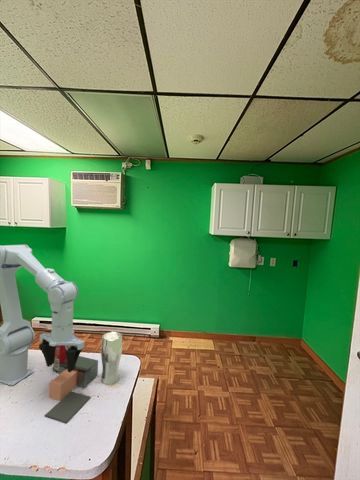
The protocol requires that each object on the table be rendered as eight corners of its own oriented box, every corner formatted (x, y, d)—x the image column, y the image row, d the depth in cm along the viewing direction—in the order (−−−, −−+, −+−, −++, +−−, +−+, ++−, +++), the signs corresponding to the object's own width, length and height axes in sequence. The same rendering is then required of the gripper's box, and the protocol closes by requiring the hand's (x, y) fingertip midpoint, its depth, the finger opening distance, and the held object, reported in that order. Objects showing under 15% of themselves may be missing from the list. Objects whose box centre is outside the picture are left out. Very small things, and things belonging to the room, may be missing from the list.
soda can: (66, 374, 82) (67, 337, 81) (48, 370, 83) (49, 334, 83) (78, 363, 89) (80, 329, 88) (61, 360, 90) (63, 326, 90)
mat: (44, 416, 64) (44, 415, 64) (71, 392, 73) (71, 391, 73) (66, 423, 62) (66, 422, 62) (90, 397, 71) (90, 396, 71)
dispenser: (58, 381, 78) (59, 363, 78) (73, 369, 85) (73, 353, 85) (84, 388, 76) (85, 370, 75) (97, 375, 82) (98, 358, 82)
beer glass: (96, 384, 78) (98, 339, 77) (103, 371, 85) (105, 330, 84) (116, 386, 77) (119, 341, 77) (123, 373, 84) (125, 332, 84)
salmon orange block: (48, 398, 71) (49, 381, 70) (72, 378, 80) (72, 364, 80) (60, 401, 70) (60, 385, 69) (82, 381, 79) (83, 366, 79)
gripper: (31, 324, 69) (30, 369, 70) (73, 333, 65) (71, 380, 66) (50, 316, 76) (49, 357, 76) (89, 323, 72) (87, 367, 73)
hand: (60, 367), depth 72 cm, fingers open, 7 cm apart
